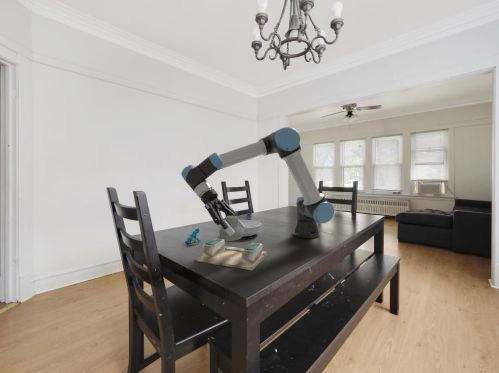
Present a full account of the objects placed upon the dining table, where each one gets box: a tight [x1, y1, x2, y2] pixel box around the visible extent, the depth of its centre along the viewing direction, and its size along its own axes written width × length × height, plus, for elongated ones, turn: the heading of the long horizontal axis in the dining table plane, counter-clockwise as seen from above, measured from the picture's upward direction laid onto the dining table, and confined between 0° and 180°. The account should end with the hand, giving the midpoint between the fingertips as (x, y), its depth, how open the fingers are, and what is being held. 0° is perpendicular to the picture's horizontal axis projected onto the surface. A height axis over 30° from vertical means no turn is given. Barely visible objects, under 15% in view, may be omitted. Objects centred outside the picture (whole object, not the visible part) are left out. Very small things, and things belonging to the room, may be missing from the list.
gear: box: [186, 227, 201, 245], centre depth 126 cm, size 11×6×10 cm
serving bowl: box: [239, 219, 262, 238], centre depth 140 cm, size 21×21×7 cm
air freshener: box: [219, 215, 244, 242], centre depth 102 cm, size 11×8×10 cm
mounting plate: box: [195, 237, 268, 271], centre depth 102 cm, size 26×18×6 cm
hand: (237, 231), depth 100 cm, fingers closed on air freshener, 10 cm apart
